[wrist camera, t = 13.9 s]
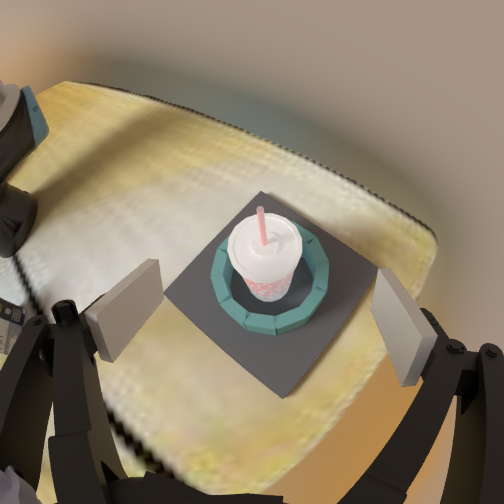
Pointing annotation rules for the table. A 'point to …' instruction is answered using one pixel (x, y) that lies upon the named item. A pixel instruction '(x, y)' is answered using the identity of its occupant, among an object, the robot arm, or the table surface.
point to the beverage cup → (265, 253)
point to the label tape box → (10, 325)
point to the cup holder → (277, 312)
